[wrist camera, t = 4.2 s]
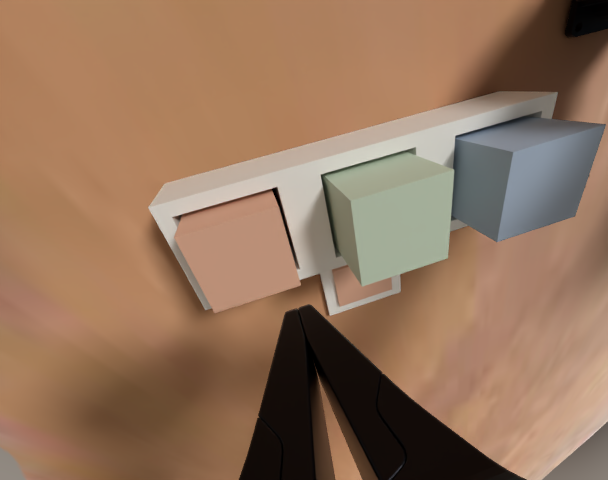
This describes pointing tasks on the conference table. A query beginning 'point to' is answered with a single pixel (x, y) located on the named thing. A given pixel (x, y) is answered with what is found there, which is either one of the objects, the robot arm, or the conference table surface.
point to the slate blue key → (522, 174)
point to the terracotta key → (238, 250)
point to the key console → (328, 157)
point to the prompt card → (353, 289)
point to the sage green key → (389, 214)
